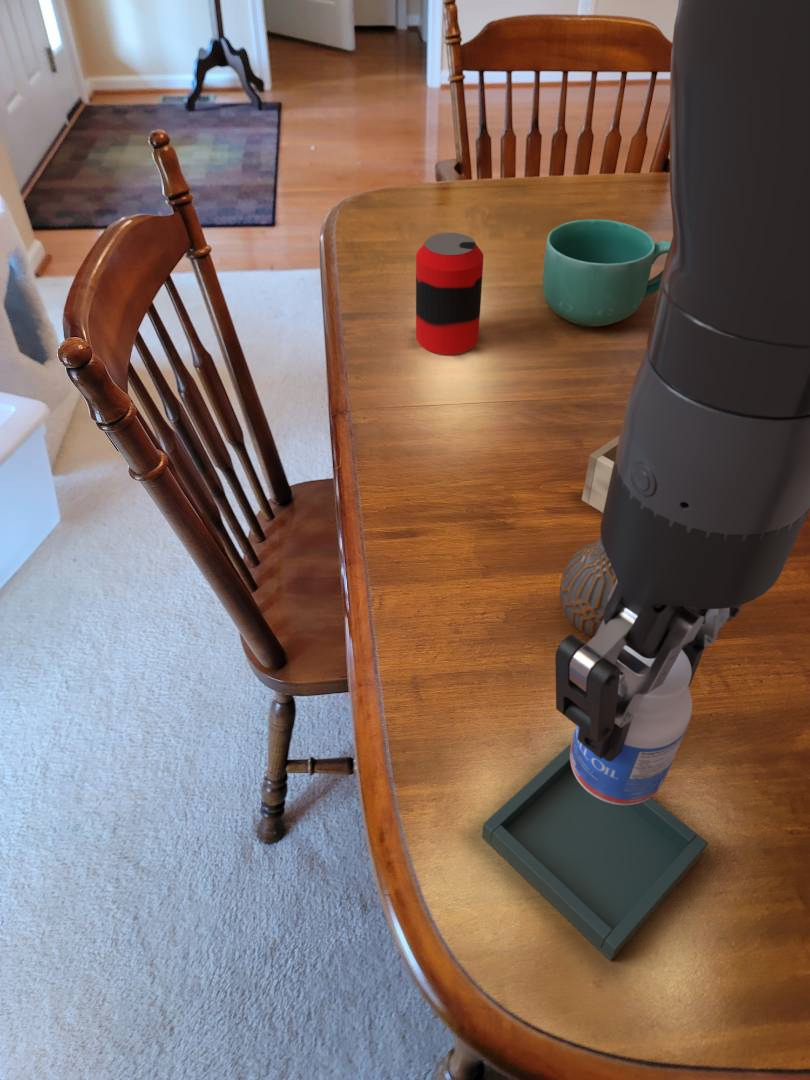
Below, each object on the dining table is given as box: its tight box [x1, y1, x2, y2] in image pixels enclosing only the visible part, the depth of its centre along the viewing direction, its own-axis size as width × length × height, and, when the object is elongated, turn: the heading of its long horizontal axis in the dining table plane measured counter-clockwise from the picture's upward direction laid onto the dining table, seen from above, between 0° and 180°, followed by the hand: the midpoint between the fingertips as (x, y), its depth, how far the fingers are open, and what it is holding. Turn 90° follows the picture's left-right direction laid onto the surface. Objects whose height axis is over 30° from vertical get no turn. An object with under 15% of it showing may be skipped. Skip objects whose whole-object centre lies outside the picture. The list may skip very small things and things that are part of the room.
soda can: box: [415, 232, 484, 356], centre depth 97 cm, size 8×8×12 cm
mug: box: [542, 218, 672, 328], centre depth 102 cm, size 17×13×10 cm
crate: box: [581, 434, 620, 514], centre depth 77 cm, size 11×11×6 cm
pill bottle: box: [570, 645, 693, 805], centre depth 44 cm, size 6×5×10 cm
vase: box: [559, 536, 617, 637], centre depth 66 cm, size 7×7×9 cm
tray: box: [481, 743, 709, 962], centre depth 54 cm, size 11×10×2 cm
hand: (634, 712), depth 44 cm, fingers closed on pill bottle, 5 cm apart
